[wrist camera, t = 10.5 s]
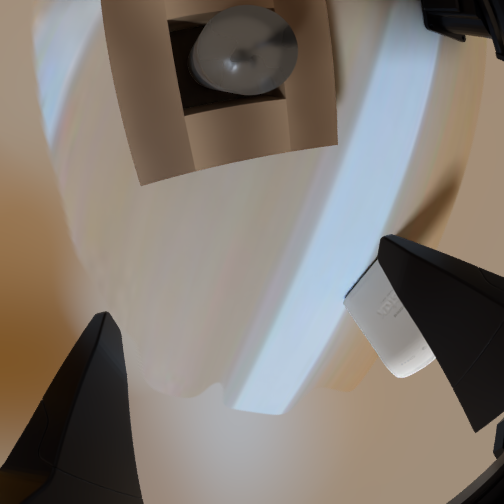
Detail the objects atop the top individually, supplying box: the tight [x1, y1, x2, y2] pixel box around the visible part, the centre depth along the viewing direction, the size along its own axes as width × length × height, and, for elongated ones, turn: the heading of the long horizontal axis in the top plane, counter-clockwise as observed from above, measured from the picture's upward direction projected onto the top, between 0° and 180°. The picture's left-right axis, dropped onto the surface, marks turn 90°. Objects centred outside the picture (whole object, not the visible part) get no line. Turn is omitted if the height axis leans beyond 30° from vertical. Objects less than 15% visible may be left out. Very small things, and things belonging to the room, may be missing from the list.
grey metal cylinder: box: [188, 5, 298, 95], centre depth 12 cm, size 4×4×8 cm
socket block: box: [101, 0, 338, 186], centre depth 14 cm, size 12×12×4 cm
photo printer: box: [343, 259, 436, 378], centre depth 26 cm, size 10×4×12 cm, turn 145°
